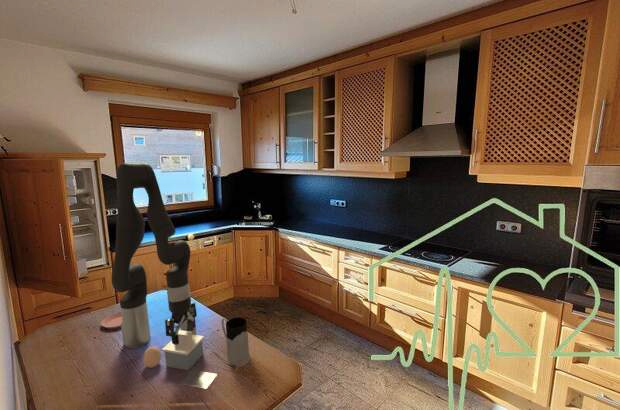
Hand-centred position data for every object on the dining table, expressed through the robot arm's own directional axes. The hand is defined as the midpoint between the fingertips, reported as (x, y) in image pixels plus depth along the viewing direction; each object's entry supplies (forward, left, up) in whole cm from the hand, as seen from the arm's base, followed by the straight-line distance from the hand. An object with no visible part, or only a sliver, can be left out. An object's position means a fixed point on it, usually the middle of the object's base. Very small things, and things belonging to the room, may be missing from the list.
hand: (183, 336), depth 113 cm
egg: (-10, -5, -10) cm, 15 cm away
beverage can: (-6, +11, -10) cm, 16 cm away
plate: (-48, +17, -11) cm, 52 cm away
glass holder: (+16, +7, -10) cm, 21 cm away
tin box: (0, 0, -10) cm, 10 cm away
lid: (0, 0, -3) cm, 3 cm away
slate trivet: (+11, -7, -10) cm, 17 cm away
